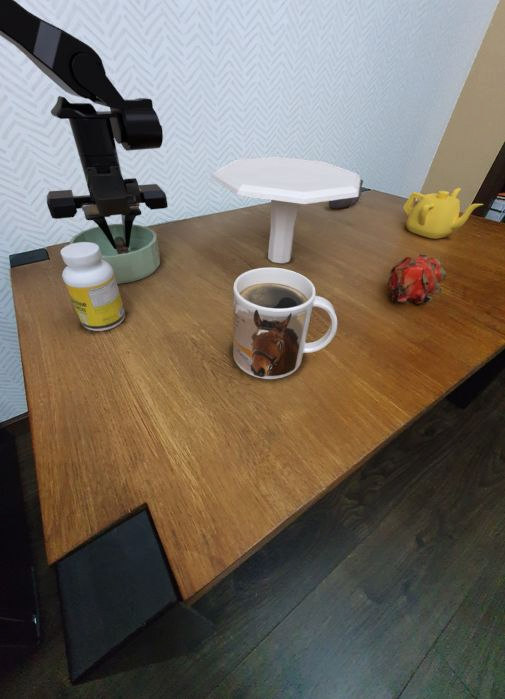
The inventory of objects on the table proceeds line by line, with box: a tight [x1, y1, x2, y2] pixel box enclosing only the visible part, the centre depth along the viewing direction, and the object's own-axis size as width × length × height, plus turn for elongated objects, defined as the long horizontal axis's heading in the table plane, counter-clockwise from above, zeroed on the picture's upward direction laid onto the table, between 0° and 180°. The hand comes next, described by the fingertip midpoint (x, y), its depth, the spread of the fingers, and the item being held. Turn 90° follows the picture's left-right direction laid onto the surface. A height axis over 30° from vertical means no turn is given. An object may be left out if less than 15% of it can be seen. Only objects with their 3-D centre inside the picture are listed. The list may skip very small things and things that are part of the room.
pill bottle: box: [60, 242, 126, 332], centre depth 44 cm, size 6×6×12 cm
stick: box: [114, 237, 129, 254], centre depth 59 cm, size 2×8×2 cm, turn 26°
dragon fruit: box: [387, 253, 447, 304], centre depth 54 cm, size 8×8×12 cm
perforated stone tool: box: [328, 178, 364, 210], centre depth 93 cm, size 15×5×7 cm, turn 132°
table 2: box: [210, 156, 362, 264], centre depth 61 cm, size 28×28×17 cm
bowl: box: [69, 223, 162, 285], centre depth 60 cm, size 15×15×6 cm
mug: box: [232, 266, 338, 380], centre depth 40 cm, size 10×12×11 cm
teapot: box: [402, 187, 484, 239], centre depth 79 cm, size 14×13×10 cm
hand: (121, 247), depth 59 cm, fingers closed on stick, 2 cm apart
